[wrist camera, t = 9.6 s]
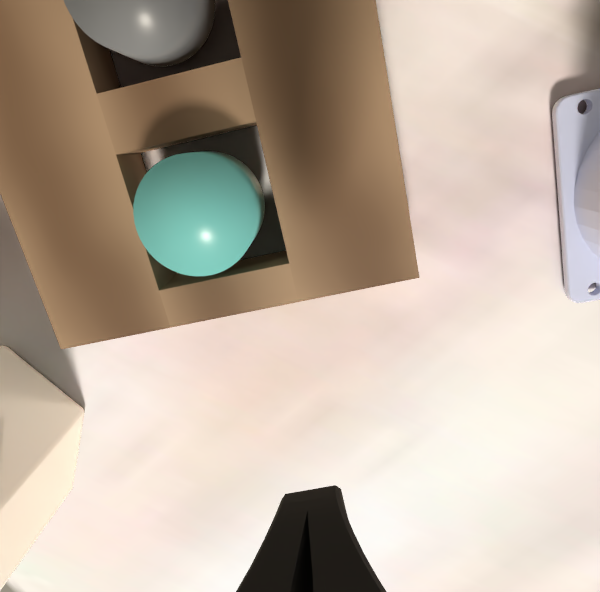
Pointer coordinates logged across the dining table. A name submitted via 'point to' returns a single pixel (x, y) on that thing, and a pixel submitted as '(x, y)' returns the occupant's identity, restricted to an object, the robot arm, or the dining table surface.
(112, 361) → the dining table surface
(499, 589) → the dining table surface
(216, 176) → the teal rounded piece
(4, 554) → the jar
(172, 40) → the graphite key
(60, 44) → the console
